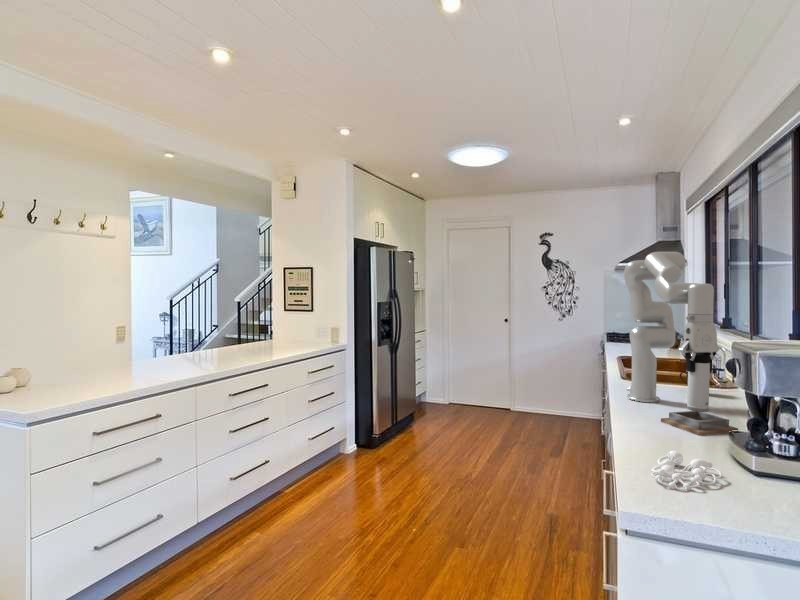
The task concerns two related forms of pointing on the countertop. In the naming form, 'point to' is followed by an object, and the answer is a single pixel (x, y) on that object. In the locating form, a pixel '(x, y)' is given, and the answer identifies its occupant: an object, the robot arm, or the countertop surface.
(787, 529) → the countertop surface
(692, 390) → the travel mug
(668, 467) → the tangled rod sculpture
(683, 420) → the frame
